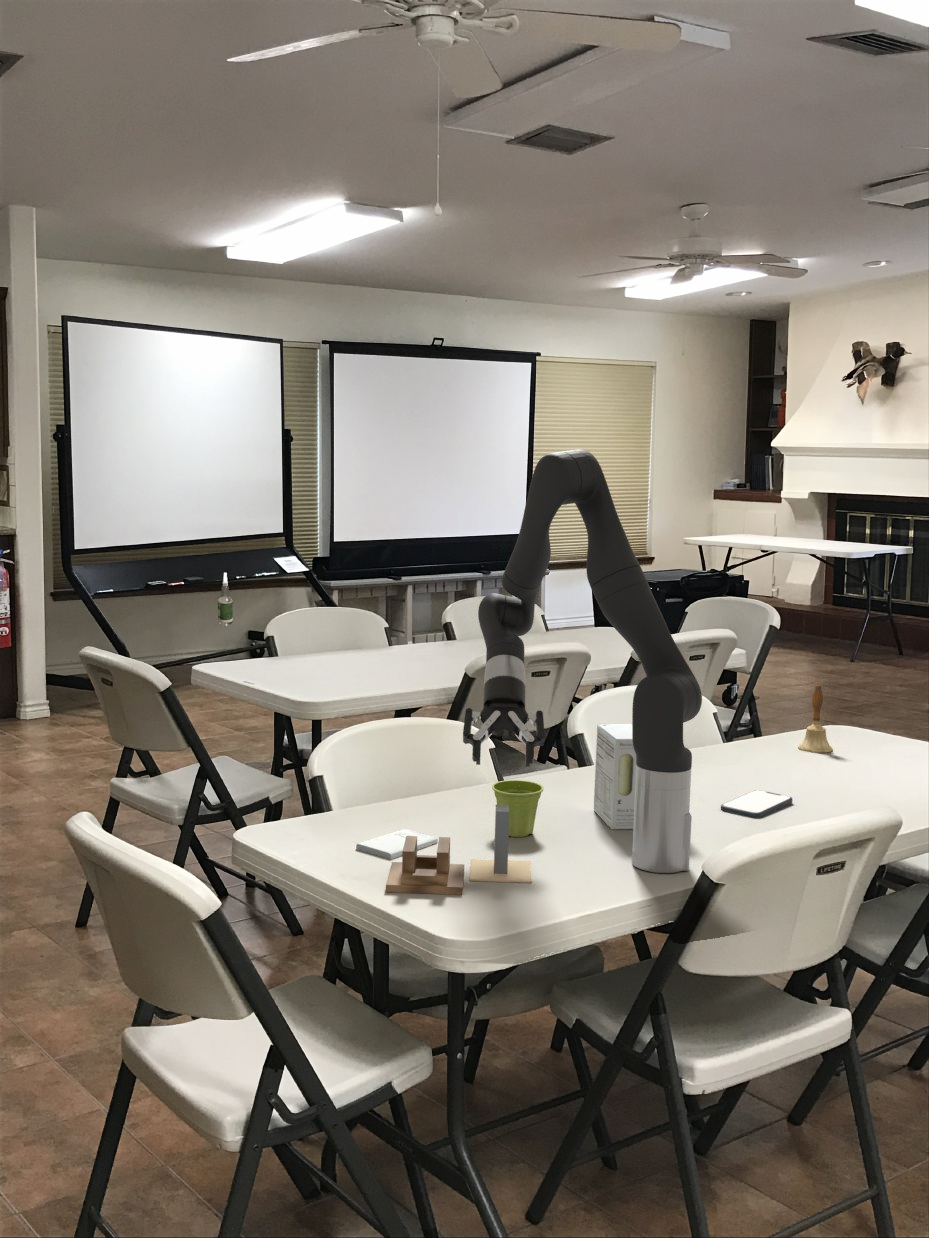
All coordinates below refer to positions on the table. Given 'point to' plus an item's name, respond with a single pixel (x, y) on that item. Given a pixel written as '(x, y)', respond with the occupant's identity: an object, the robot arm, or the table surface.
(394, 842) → the external hard drive
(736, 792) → the table surface
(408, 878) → the rack
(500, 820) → the grey rectangular block
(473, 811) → the table surface
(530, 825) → the plant pot
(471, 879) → the cork mat
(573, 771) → the table surface
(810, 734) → the hand bell
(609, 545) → the robot arm
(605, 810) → the supplement box
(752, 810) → the phone case
